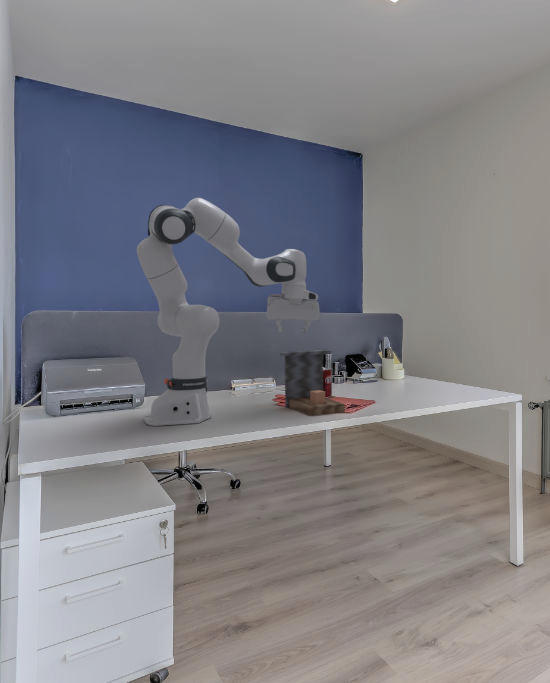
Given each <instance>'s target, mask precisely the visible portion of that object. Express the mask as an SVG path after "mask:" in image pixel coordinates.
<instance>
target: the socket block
mask: <svg viewBox="0 0 550 683" xmlns="http://www.w3.org/2000/svg"><path fill="white" fill-rule="evenodd" d="M330 354H331V355H332V350H330V349H315V350H313V349H312V350H298V351H296V350H295V351H279V356H280V357H284V406H285V407H286V408H291V409H293V410H295V411H298V412H300V413H302V414H304V415H308V416H310V417H314V416H321V415H331V414H339V413H346V410H345V408H346V407H345V406H346V404H345V403H344V402H340V401H337V400H335V399H331V398H326V397H325V403H321V404H313V403H311V402H310V391H316V390H321V391H323V368H324V355H330Z"/></svg>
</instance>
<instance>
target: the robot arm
mask: <svg viewBox="0 0 550 683" xmlns="http://www.w3.org/2000/svg"><path fill="white" fill-rule="evenodd" d="M193 234H196V235H197V236H199V237H200V238H202V239H203V240H204V241H205V242H207V243H208V244H210V245H211V246H213V247H214V248H215V249H217V250H218V251H219V252H220V253H222V255H223V256H225V257H226V258H227V259H228V260H229V261H230V262H232V264H234V265H235V266H236V267H237V268H239V269H240V270H241V271H242V272H243V273H244V275H245V276H246V277H247V279H248V280H249V282H250V283H251V284H252V285H254V286H255V287H258V288H262V287H266V286H267V287H268V286H271V285H278V284H281V293H271V294H269V295H268V296H267V299H266V300H267V301H266V303H267V308H266V318H267V320H271V321H272V320H274V321H275V324H276V326H277V329H278V331H277V332H278V334H279V333H282V334H283V333H285V327H282V326H283V325H282V322H283V321H304V322H303V323H304V326H303V327H302V328H301V333H302V334H307V333H308V328H309V327H310V325H311V322H312V321H313V322H315V321H316V322H317V321H318V320H319V319H320V304H319V302H318V300H319V295H318V293H314V292H312V291H310V290H308V289H307V284H306V277H307V257H306V255H305V253H304V252H303V251H301V250H300V249H296V248H286V249H285V250H284V251H282V252H281V253H279V254H276V255H273V256H269V257H266V258H258V257H255V256H253V255H252V254H251V253H250V252H248V251H247V250H246V249H245V248H244V247H243V246H242V245H240V243H239V239H240V235H241V234H240V227H239V224H238V223H237V222H236V221H235V219H234V218H232V216H230V215H229V214H227V212H225V211H223V210H222V209H221V208H219V206H216V205H215V204H213V203H212V202H210V201H208V200H206V199H204V198H202V197H195V198H193V199H190V200H189V202H187V204H186V205H185V207H183V208H177V207H175V206H172V205H169V204H161V205H157V206H156V207H154V208H153V209H152V210H151V212H150V213H149V216H148V222H147V235H148V237H145V238H144V239H143V240H141V241H140V242H139V244H137V247H136V255H137V258H138V261H139V264H140V266H141V269H142V272H143V273H144V276H145V278H146V280H147V281H148V284H149V285H150V287H151V289H152V291H153V293H154V295H155V297H156V298H155V299H156V300H157V303H158V308H159V313H158V315H157V326H158V328H159V329H160V331H161V332H162V333H165V334H166V335H168V336H171V337H180V338H181V339H180V343H179V347H178V348H177V349H176V350H175V351H174V352H173V354H172V377H171V378H164V380H163V383H164V384H165V385H167V389H166V390H164V392H162V393H161V394H160V395H159V396H157V398H155V399H154V400H153V401H152V403H151V408H150V414H146V415H145V416H144V417H143V418H144V420H143V421H144V423H145V424H146V425H149V426H152V427H153V426H154V427H158V426H161V427H162V426H174V425H188V424H199V423H201V422H203V421H205V420H208V419H210V418H211V417H212V414H211V411H210V408H209V407H210V406H209V402H208V394H207V393H208V378H207V376H206V355H207V348H208V345H209V343H210V340H211V338H213V335H215V333H217V331H218V329H219V327H220V316H219V313H218V312H217V310H216V309H215V308H214V307H211V306H208V305H204V304H189V303H188V301H187V298H186V294H185V293H186V292H187V290H188V288H189V287H188V286H189V285H188V281H187V279H186V277H185V275H184V273H183V271H182V269H181V267H180V265H179V263H178V261H177V259H176V257H175V255H174V251H173V245H178V244H180V243H182V242H183V241H185V240H187V238H189V237H190V236H191V235H193Z"/></svg>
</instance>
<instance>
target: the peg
mask: <svg viewBox="0 0 550 683" xmlns="http://www.w3.org/2000/svg"><path fill="white" fill-rule="evenodd" d="M310 402H311V403H313V404H321V403H325V392H324V391H321V390H316V391H310Z"/></svg>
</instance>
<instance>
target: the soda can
mask: <svg viewBox="0 0 550 683" xmlns="http://www.w3.org/2000/svg"><path fill="white" fill-rule="evenodd" d="M332 374H333V369H332V368H330V367H323V391H324V392H325V397H330V398H331V397H332V396H333V375H332Z"/></svg>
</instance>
